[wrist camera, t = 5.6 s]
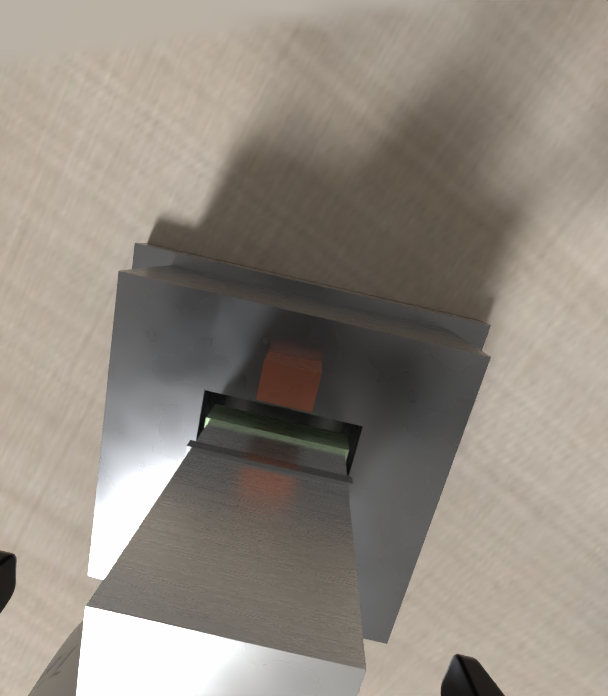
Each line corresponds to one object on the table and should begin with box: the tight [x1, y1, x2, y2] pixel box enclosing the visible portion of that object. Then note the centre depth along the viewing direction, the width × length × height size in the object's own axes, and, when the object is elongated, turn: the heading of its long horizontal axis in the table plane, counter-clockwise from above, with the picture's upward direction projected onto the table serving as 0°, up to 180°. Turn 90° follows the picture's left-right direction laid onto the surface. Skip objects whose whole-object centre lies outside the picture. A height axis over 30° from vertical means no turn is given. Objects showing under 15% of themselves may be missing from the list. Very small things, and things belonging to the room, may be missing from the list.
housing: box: [88, 243, 491, 644], centre depth 15 cm, size 14×12×6 cm
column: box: [77, 404, 366, 696], centre depth 9 cm, size 4×4×7 cm
